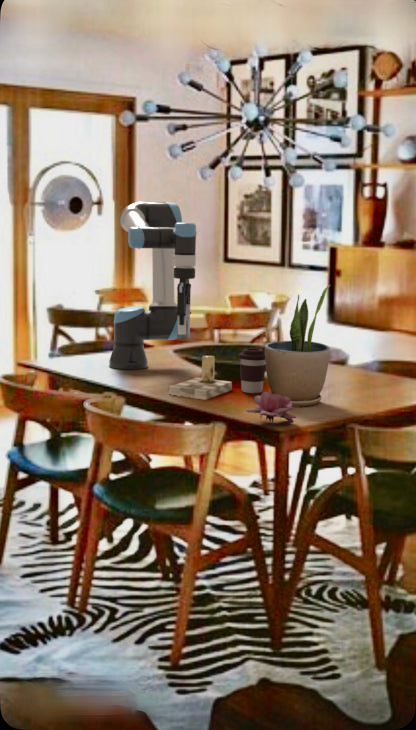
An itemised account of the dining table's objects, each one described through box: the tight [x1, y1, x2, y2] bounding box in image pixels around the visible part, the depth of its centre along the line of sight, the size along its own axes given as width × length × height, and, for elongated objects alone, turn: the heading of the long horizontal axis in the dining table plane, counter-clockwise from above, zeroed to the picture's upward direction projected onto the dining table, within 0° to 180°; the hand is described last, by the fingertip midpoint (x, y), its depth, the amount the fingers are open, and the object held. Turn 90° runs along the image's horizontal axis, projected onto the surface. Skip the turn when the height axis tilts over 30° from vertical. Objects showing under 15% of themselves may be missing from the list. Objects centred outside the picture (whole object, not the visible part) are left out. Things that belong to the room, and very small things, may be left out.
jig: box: [168, 377, 233, 401], centre depth 352 cm, size 20×14×3 cm
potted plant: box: [264, 284, 331, 408], centre depth 336 cm, size 21×22×40 cm
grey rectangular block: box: [176, 303, 191, 340], centre depth 357 cm, size 4×4×12 cm
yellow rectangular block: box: [201, 355, 216, 384], centre depth 355 cm, size 4×4×12 cm
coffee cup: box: [238, 347, 266, 394], centre depth 355 cm, size 10×10×15 cm
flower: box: [246, 391, 297, 425], centre depth 307 cm, size 15×15×10 cm
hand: (183, 333), depth 358 cm, fingers closed on grey rectangular block, 4 cm apart
